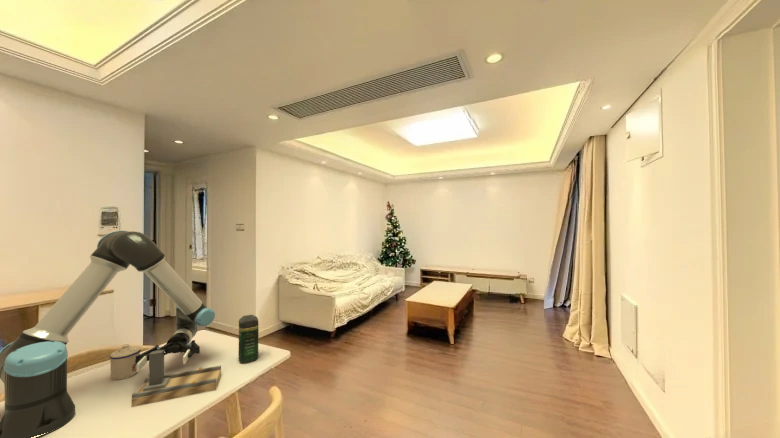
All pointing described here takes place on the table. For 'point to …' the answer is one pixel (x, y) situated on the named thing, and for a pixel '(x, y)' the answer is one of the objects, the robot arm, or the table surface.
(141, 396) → the fader console
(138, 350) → the teacup with lid
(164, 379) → the fader tab
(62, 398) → the robot arm
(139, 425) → the table surface
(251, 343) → the coffee jar
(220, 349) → the table surface
